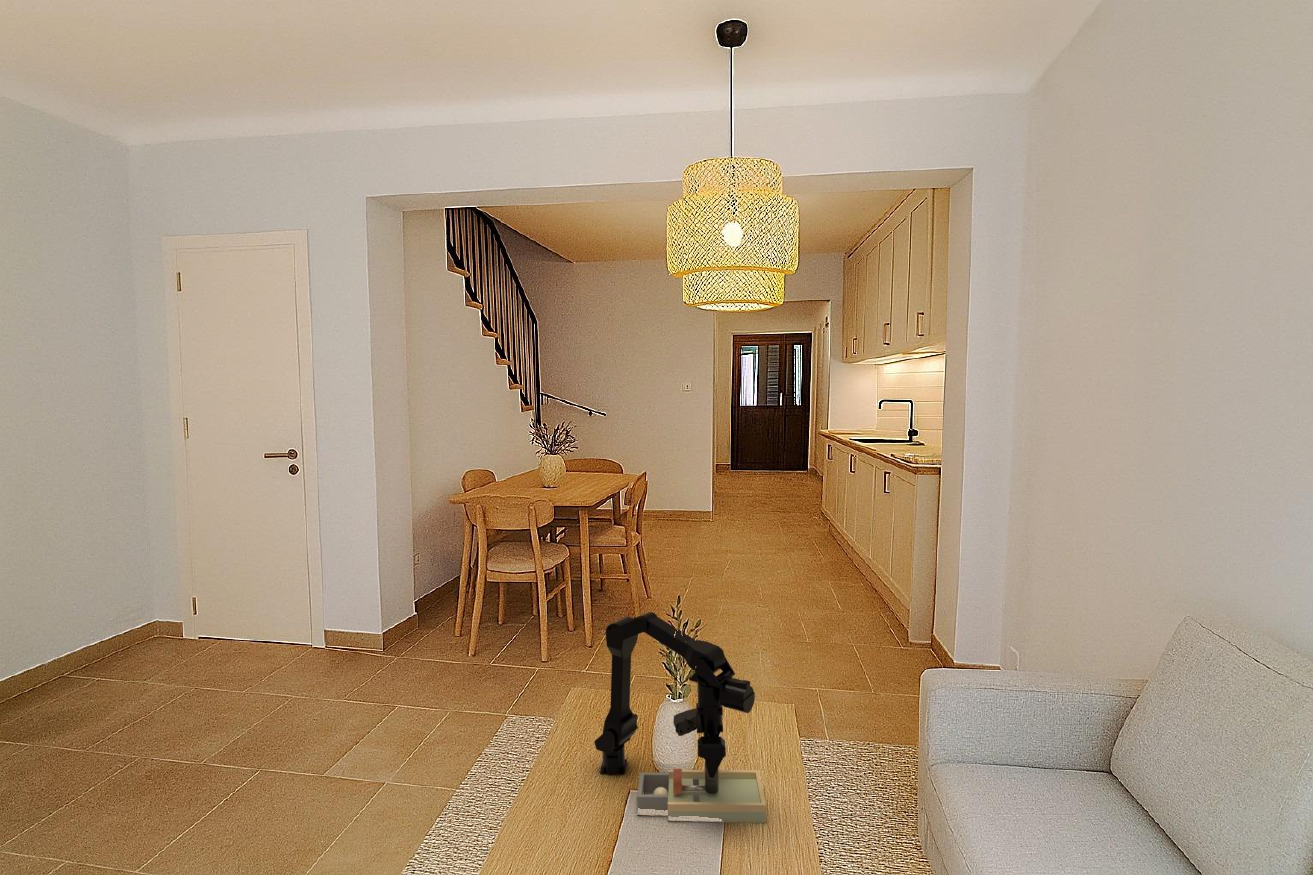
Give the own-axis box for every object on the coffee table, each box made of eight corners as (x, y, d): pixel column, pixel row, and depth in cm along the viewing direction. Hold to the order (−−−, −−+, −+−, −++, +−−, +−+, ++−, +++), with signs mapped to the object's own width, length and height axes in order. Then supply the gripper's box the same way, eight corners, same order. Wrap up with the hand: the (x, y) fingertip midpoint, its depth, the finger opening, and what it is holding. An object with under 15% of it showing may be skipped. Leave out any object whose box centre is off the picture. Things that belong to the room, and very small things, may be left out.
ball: (667, 783, 163) (669, 797, 163) (652, 784, 163) (654, 798, 163) (667, 792, 159) (668, 806, 160) (651, 793, 160) (653, 807, 160)
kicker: (673, 785, 163) (673, 757, 162) (718, 786, 162) (718, 758, 162) (673, 794, 159) (672, 766, 159) (719, 795, 159) (718, 766, 158)
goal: (640, 790, 167) (640, 772, 166) (669, 790, 166) (668, 772, 166) (637, 815, 157) (637, 796, 156) (668, 815, 156) (667, 797, 156)
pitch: (669, 785, 168) (669, 768, 168) (759, 786, 167) (759, 769, 167) (667, 821, 154) (667, 803, 154) (765, 822, 153) (765, 804, 153)
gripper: (675, 684, 169) (676, 745, 170) (674, 720, 150) (675, 789, 151) (721, 684, 168) (721, 745, 169) (725, 720, 150) (726, 789, 151)
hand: (710, 766), depth 160 cm, fingers open, 9 cm apart
